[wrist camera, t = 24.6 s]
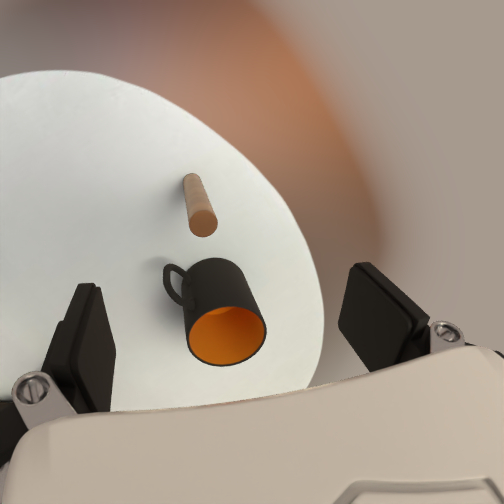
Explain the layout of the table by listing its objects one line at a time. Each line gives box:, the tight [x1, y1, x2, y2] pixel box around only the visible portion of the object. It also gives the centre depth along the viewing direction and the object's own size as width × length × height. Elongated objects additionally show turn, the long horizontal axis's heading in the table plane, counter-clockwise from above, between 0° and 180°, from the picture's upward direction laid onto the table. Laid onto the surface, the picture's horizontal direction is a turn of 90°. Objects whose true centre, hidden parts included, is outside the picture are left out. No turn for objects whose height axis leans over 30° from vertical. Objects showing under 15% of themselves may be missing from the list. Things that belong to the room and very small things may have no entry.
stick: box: [183, 173, 218, 237], centre depth 28 cm, size 2×2×14 cm
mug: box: [163, 258, 267, 367], centre depth 35 cm, size 8×12×10 cm
